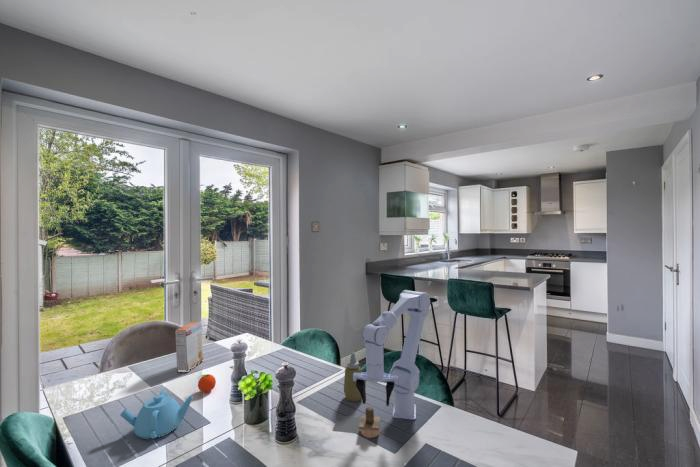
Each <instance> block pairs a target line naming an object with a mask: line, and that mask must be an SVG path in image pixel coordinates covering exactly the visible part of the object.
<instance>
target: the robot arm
mask: <svg viewBox="0 0 700 467" xmlns="http://www.w3.org/2000/svg"><path fill="white" fill-rule="evenodd" d="M430 305H431V299H430V296H429V294H428V293H427V292H425V291H423V292H421V291H415V290H414V291H413V290H408V289H404V290H402V292H401V293H400V294H399V298H398V301H396V303H395V304H394V305H393V307H392V308H391V309H390V310H385V311H382V313H381V315H379V316H378V317H377V318H376V319H375V320H374V321H373V322H372V323H369V324H366V325H364V327H363V329H362V332H361V341H363V345H364V347H365V368H366V369H365V371H364V372H363V371H362V373H354V374H353V381H356V387H357V388H358V390H359V392H360V395H361V397H362V398H361V400H362V404H363V405H365V404H366V402H367V392H366V386H367V383H366V382H370V384H377V383H386V385H385V393H386V398H385V399H386V400H385V403H386V407H389V406H390V400H391V395H392V393H393V403H394V404H393V409H392V410H393V411H392V418H397V419H404V420H405V419H407V420H412V421H413V420H414V421H415V420H416V418H417V417H416V416H417V405H416V404H415V391H416V390H417V389H418V387H419V384H420V373H421V372H420V369H419V368H418V367H417V365H416V364H415V362H416V358H417V353H418V349H419V345H420V341H421V336H422V331H423V327H424V323H425V319H426V317H428V313H429V310H430ZM405 312H406V313H407V314H408V315H409V316H410V318H409V322H408V326H407V330H406V335H405V339H404V342H403V346H402V350H401V354H400V358H399V359H398V360H396V361H394V362H393V364H392V367H391V369H390V370H389V372H388V373H386V372H385V366H384V365H385V364H384V363H385V362H384V361H385V360H384V344H385V343H386V341H387V338H388V336H389V333H390V332H391V330H393V328H394V327H395V326H396V325H397V323H398V318H399V317H400V316H401V315H403V314H404V313H405Z"/></svg>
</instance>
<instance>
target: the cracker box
mask: <svg viewBox="0 0 700 467" xmlns="http://www.w3.org/2000/svg"><path fill="white" fill-rule="evenodd" d="M202 330H203V329H202V321H191V322H189V323H186V324H184V326H180V327H179V328H177V329H175V331H174V334H175V353H176V354H175V356H176V371H177V370H186V371H188V370H189V369H191V368H192V367H194V366H195V365H197V364H198V363H199V362H201V361H202V360H203V361H204V354H203V352H204V351H203V333H202ZM203 361H202V362H203ZM202 362H201V363H202ZM197 366H198V365H197Z"/></svg>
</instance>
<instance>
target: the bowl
mask: <svg viewBox="0 0 700 467" xmlns="http://www.w3.org/2000/svg"><path fill="white" fill-rule="evenodd" d="M380 431H381V429H380V427H379V431H376V430H363V429H360V431H359V432H360V434H361V435H362V436H363V437H364V438H369V439H370V438H376V437H378V436H379V435H380Z"/></svg>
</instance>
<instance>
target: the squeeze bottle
mask: <svg viewBox="0 0 700 467" xmlns="http://www.w3.org/2000/svg"><path fill="white" fill-rule="evenodd" d="M355 354H356V353H355V352H351V354H350V360H348V361H347V362H346V363H347V364H346V365H347V366H346V367H345V368H344V369H345V370H344V381H343V382H344V383H343V392H344V395H345V399H346V400H347V401H348V402H352V403H353V402H355V403H356V402H359V401H361V400H362V397H361V395H360V392H359V390H358V388H357V387H356V381H353V374H354V373H362V372H363V370H362V367H361V366H360V362H359V361H358V360H357V359H356V355H355Z"/></svg>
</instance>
